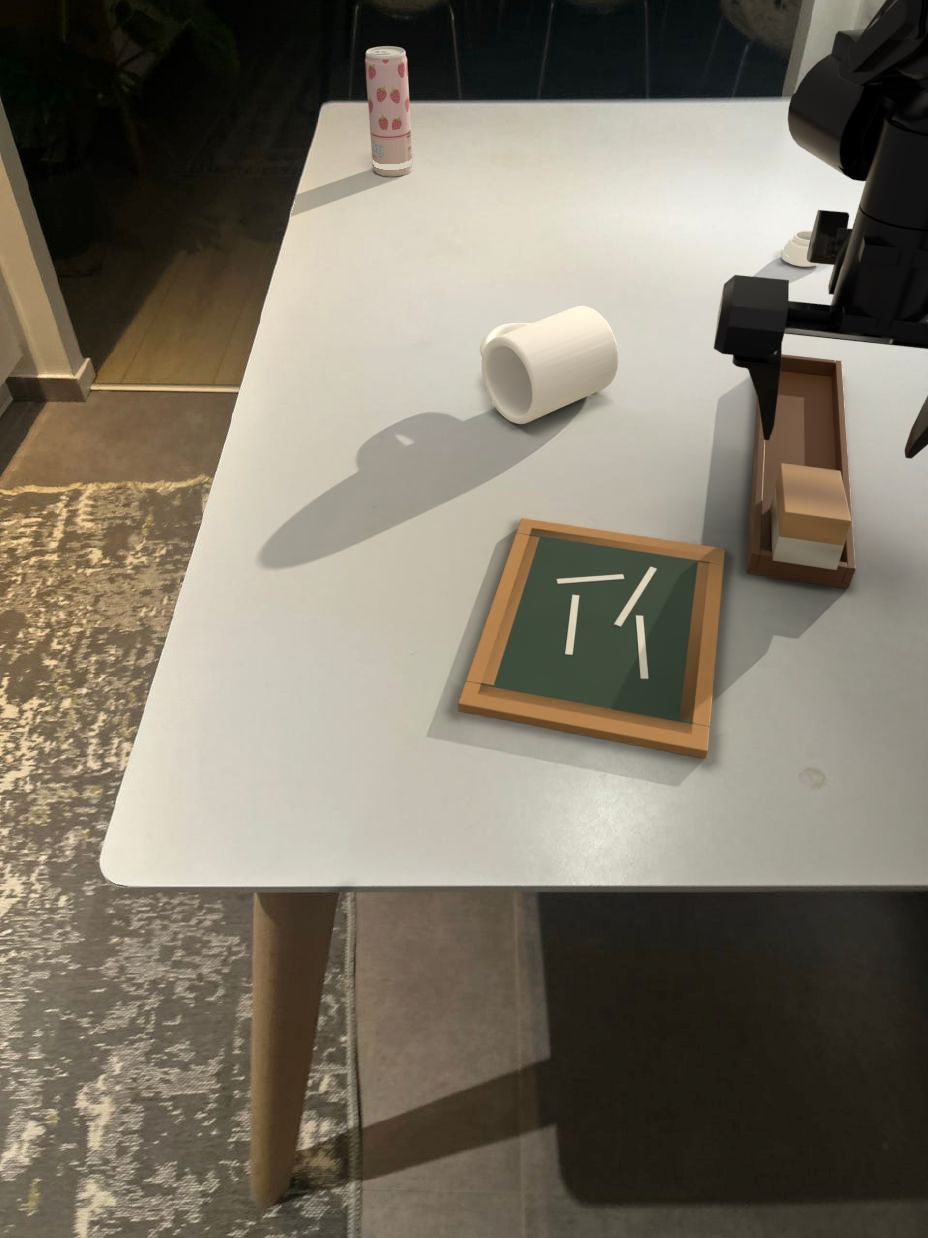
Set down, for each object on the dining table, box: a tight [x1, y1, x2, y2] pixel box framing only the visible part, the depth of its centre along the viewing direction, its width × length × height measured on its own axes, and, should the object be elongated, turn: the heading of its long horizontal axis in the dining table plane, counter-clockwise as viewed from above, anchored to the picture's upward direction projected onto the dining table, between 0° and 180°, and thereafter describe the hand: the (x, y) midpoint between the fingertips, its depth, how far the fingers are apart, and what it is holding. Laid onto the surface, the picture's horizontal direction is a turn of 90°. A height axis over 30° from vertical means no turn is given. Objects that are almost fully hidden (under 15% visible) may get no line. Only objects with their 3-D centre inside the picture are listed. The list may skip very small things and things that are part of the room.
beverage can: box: [364, 45, 414, 178], centre depth 127 cm, size 6×6×15 cm
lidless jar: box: [780, 230, 820, 268], centre depth 108 cm, size 5×3×5 cm
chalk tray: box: [746, 353, 857, 589], centre depth 79 cm, size 7×31×2 cm, turn 166°
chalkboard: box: [457, 517, 726, 759], centre depth 66 cm, size 16×20×1 cm
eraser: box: [770, 463, 851, 570], centre depth 69 cm, size 9×4×4 cm, turn 165°
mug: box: [479, 305, 619, 425], centre depth 86 cm, size 12×10×8 cm
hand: (836, 445), depth 63 cm, fingers open, 9 cm apart
